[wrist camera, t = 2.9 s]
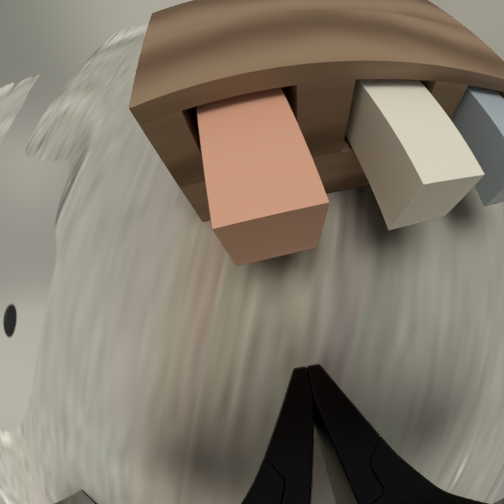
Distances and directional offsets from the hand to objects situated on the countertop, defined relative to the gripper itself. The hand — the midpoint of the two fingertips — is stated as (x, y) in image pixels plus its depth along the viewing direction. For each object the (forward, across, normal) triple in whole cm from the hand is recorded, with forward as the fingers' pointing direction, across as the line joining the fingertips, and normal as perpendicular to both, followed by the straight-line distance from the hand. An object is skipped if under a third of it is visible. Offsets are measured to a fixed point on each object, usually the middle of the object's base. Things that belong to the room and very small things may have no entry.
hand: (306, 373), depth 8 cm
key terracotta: (+7, +1, -4) cm, 8 cm away
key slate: (+8, -13, -5) cm, 16 cm away
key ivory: (+7, -6, -4) cm, 11 cm away
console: (+16, -6, -7) cm, 19 cm away
